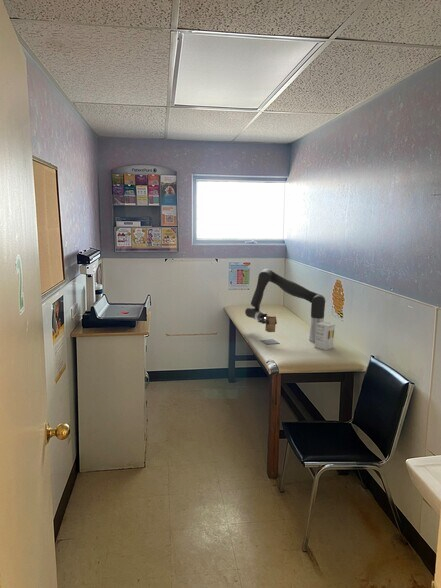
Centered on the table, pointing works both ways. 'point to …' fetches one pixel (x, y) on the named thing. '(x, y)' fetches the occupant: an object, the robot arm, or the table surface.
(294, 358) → the table surface
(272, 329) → the walnut block
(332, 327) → the supplement box
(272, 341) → the mat
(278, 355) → the table surface
